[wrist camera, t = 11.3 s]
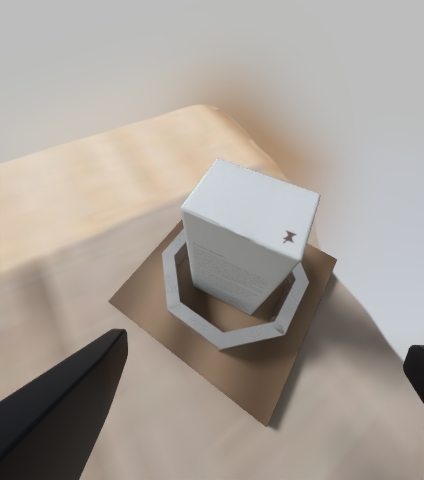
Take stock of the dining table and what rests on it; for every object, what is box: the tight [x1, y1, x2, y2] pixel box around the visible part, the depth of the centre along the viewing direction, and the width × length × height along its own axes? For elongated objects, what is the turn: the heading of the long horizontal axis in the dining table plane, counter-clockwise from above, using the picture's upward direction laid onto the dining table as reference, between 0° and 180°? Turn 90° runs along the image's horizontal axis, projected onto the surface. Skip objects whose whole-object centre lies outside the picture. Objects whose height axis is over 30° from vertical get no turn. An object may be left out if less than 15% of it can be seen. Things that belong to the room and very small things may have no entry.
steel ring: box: [162, 229, 309, 351], centre depth 20 cm, size 12×12×3 cm
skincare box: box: [181, 158, 320, 315], centre depth 16 cm, size 6×4×12 cm
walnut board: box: [108, 220, 337, 427], centre depth 22 cm, size 16×16×1 cm
